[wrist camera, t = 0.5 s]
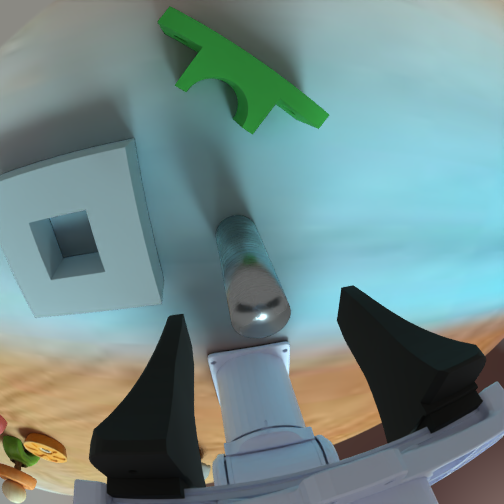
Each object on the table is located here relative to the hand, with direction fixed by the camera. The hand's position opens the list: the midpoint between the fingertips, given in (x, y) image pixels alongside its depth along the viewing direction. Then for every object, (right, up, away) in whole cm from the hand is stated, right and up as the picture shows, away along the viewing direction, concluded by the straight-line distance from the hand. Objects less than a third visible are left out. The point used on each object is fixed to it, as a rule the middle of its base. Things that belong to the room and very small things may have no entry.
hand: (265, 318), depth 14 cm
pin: (-2, +4, +9) cm, 10 cm away
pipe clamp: (-2, +14, +4) cm, 14 cm away
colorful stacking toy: (-40, -27, +20) cm, 52 cm away
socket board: (-13, +5, +7) cm, 15 cm away
